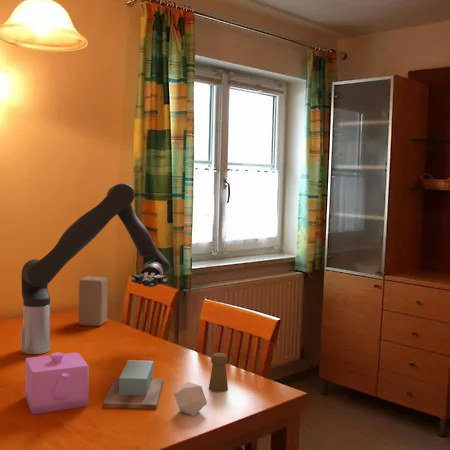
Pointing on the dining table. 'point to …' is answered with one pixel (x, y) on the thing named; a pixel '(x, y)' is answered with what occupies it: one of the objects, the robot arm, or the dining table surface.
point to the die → (190, 398)
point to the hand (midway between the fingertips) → (146, 283)
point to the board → (134, 397)
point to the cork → (218, 373)
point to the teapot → (56, 382)
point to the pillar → (136, 378)
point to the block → (93, 300)
